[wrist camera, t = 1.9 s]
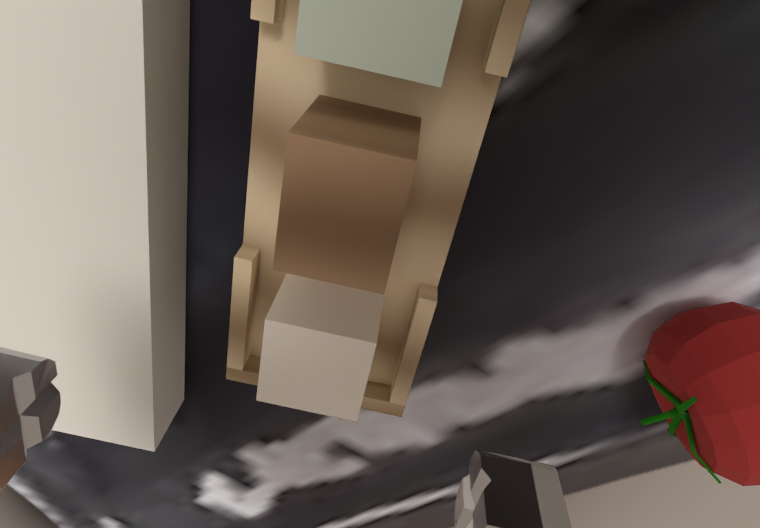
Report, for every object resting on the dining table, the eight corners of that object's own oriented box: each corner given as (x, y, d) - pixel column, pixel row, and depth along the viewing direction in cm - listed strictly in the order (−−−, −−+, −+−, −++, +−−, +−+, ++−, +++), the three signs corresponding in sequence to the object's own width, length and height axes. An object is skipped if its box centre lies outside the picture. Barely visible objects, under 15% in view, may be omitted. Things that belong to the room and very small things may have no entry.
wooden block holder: (301, -224, 18) (220, -327, 11) (561, -162, 18) (632, -227, 12) (249, 331, 30) (196, 438, 24) (405, 365, 30) (396, 481, 24)
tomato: (938, 447, 18) (718, 523, 19) (828, 457, 25) (669, 512, 26) (788, 251, 22) (607, 322, 23) (727, 307, 29) (591, 360, 30)
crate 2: (291, 262, 24) (265, 319, 21) (386, 283, 25) (376, 343, 21) (282, 336, 27) (256, 400, 23) (368, 355, 27) (357, 421, 23)
